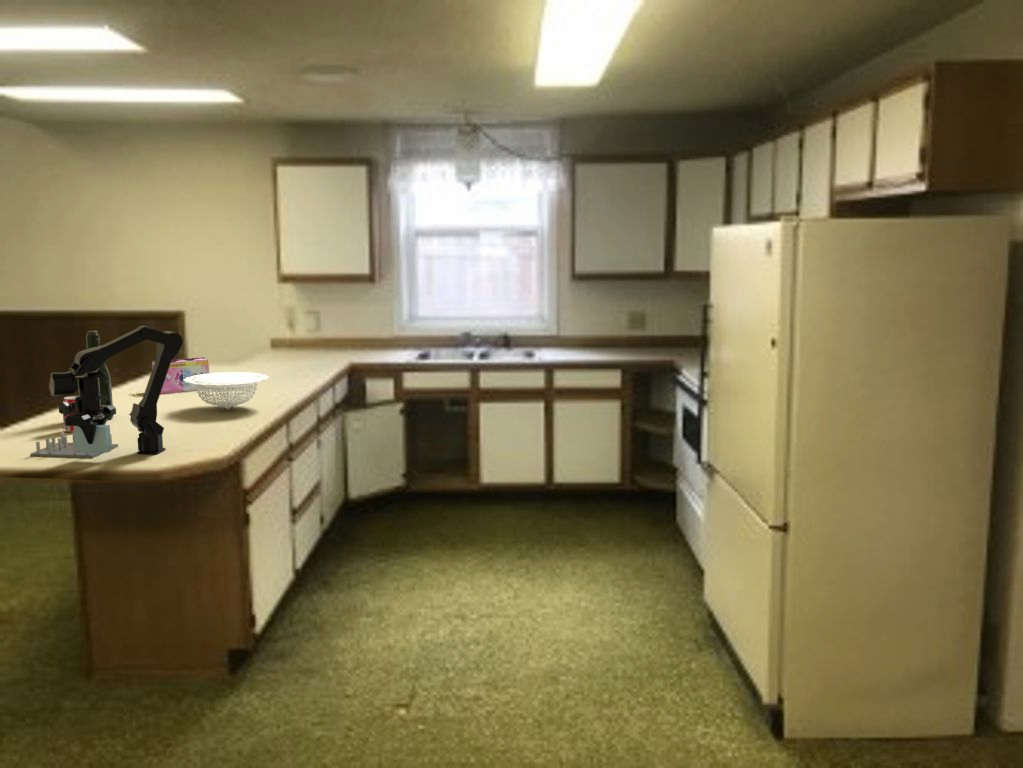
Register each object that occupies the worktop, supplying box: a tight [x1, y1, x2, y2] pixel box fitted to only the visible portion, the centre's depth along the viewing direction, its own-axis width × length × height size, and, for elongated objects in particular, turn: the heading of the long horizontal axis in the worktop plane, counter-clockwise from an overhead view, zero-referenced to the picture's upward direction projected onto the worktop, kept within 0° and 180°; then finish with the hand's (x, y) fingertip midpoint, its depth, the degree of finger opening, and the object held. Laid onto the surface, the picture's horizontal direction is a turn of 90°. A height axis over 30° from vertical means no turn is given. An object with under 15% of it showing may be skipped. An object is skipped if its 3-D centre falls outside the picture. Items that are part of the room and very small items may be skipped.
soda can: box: [62, 395, 79, 434], centre depth 302 cm, size 7×7×12 cm
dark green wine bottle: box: [85, 330, 115, 421], centre depth 320 cm, size 10×10×33 cm
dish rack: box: [30, 431, 119, 459], centre depth 275 cm, size 20×15×4 cm
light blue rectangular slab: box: [74, 424, 112, 454], centre depth 263 cm, size 10×2×8 cm, turn 86°
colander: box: [183, 371, 270, 410], centre depth 342 cm, size 32×32×13 cm
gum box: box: [151, 356, 210, 395], centre depth 383 cm, size 24×8×14 cm, turn 130°
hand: (92, 442), depth 263 cm, fingers closed on light blue rectangular slab, 2 cm apart
